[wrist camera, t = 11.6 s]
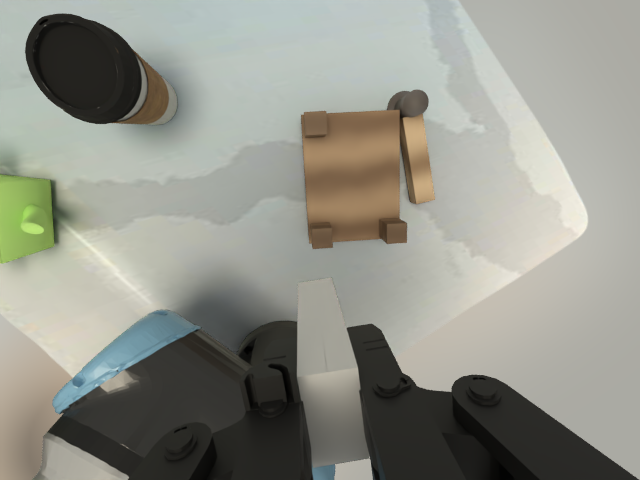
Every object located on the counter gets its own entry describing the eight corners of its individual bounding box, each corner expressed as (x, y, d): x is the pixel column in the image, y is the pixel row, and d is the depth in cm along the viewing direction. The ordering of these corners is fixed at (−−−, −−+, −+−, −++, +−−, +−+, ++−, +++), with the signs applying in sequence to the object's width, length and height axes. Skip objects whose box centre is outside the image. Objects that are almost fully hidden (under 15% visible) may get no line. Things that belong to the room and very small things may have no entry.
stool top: (418, 230, 47) (439, 242, 40) (308, 237, 46) (310, 251, 39) (420, 90, 43) (444, 75, 35) (299, 96, 42) (299, 82, 35)
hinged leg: (392, 100, 42) (403, 92, 38) (413, 95, 42) (426, 87, 38) (409, 202, 46) (420, 206, 41) (428, 197, 46) (442, 201, 41)
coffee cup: (162, 50, 40) (82, -15, 25) (201, 114, 42) (148, 88, 27) (104, 85, 41) (-5, 42, 26) (146, 147, 42) (65, 139, 28)
